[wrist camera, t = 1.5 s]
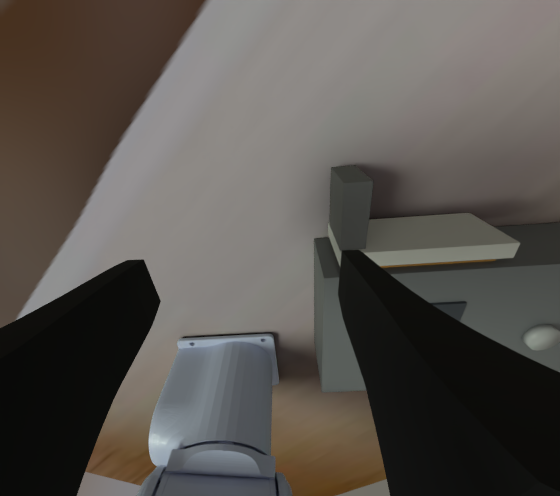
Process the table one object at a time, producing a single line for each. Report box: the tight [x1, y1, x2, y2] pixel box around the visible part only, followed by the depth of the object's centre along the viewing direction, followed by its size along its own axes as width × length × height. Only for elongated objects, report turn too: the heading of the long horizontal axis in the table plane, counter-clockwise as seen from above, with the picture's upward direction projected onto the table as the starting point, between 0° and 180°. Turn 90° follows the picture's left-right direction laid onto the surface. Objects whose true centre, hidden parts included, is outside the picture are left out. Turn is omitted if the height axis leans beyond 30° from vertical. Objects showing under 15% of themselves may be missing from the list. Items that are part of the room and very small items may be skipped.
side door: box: [328, 165, 520, 266], centre depth 15 cm, size 10×5×4 cm, turn 94°
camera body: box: [314, 223, 560, 392], centre depth 20 cm, size 22×12×6 cm, turn 94°
